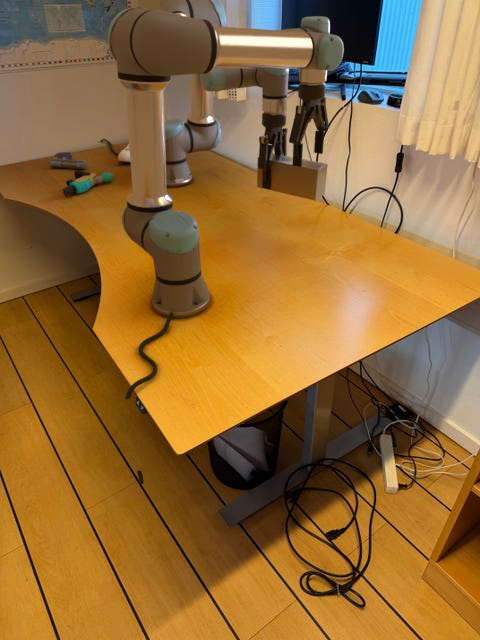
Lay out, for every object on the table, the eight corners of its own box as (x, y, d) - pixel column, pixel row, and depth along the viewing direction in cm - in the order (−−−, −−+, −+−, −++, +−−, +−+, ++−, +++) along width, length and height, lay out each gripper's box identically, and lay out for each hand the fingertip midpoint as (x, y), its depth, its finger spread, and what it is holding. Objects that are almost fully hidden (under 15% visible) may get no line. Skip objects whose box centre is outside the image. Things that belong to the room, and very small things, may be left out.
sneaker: (112, 165, 217) (107, 137, 210) (140, 147, 239) (137, 122, 232) (133, 167, 215) (128, 139, 207) (159, 148, 237) (156, 123, 230)
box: (324, 194, 154) (327, 163, 148) (315, 200, 149) (318, 169, 143) (267, 181, 164) (268, 152, 158) (257, 187, 159) (257, 157, 153)
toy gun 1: (98, 160, 223) (83, 171, 211) (61, 158, 226) (45, 169, 214) (96, 152, 220) (81, 162, 208) (59, 150, 223) (43, 160, 212)
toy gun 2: (40, 183, 186) (69, 189, 180) (86, 165, 204) (114, 170, 199) (43, 194, 188) (72, 201, 183) (88, 175, 207) (115, 180, 201)
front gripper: (320, 73, 142) (316, 146, 154) (277, 89, 125) (276, 169, 138) (343, 75, 138) (337, 149, 151) (302, 92, 122) (299, 173, 135)
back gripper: (279, 104, 154) (277, 174, 168) (246, 117, 141) (246, 191, 155) (300, 107, 151) (296, 178, 164) (267, 120, 138) (266, 196, 151)
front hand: (308, 159), depth 145 cm, fingers open, 13 cm apart
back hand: (272, 184), depth 159 cm, fingers closed on box, 7 cm apart
